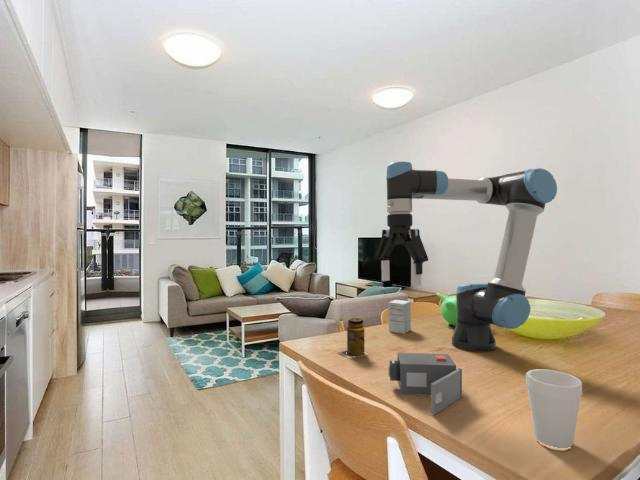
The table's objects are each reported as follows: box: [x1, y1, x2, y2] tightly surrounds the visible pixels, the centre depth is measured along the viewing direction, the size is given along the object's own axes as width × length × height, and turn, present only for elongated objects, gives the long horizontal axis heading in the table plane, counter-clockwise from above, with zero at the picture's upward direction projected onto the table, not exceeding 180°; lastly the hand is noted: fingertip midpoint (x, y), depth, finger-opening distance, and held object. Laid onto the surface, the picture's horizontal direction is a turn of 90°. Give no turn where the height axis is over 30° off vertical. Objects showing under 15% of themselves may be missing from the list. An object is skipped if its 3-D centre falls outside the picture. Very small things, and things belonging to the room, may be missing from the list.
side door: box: [430, 368, 463, 416], centre depth 90 cm, size 14×2×7 cm, turn 134°
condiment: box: [337, 317, 370, 359], centre depth 130 cm, size 7×8×12 cm
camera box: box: [388, 352, 457, 396], centre depth 101 cm, size 17×9×9 cm, turn 84°
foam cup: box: [525, 368, 583, 448], centre depth 74 cm, size 10×9×13 cm
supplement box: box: [388, 299, 412, 335], centre depth 159 cm, size 7×7×13 cm
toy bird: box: [435, 292, 457, 327], centre depth 167 cm, size 18×17×15 cm
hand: (400, 283), depth 114 cm, fingers open, 13 cm apart
